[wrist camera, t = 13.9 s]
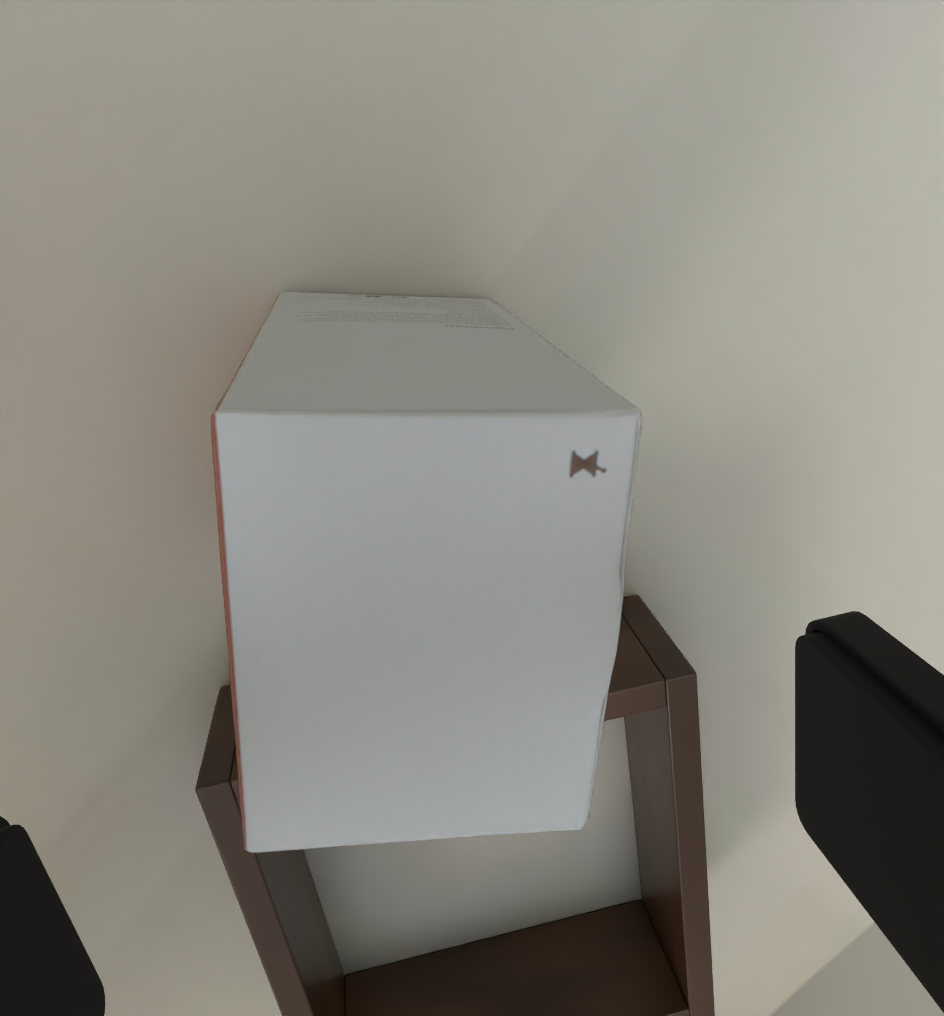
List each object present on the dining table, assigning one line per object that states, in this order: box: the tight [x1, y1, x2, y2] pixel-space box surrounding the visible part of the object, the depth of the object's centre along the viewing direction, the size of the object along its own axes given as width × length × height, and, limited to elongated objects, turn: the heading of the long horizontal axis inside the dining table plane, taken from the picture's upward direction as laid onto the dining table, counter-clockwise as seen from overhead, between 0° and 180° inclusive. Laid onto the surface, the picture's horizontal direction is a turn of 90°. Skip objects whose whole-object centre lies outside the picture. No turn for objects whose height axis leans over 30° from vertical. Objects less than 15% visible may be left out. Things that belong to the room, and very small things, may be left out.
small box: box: [211, 292, 642, 853], centre depth 18 cm, size 8×6×13 cm
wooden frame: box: [195, 596, 715, 1016], centre depth 28 cm, size 15×16×5 cm
